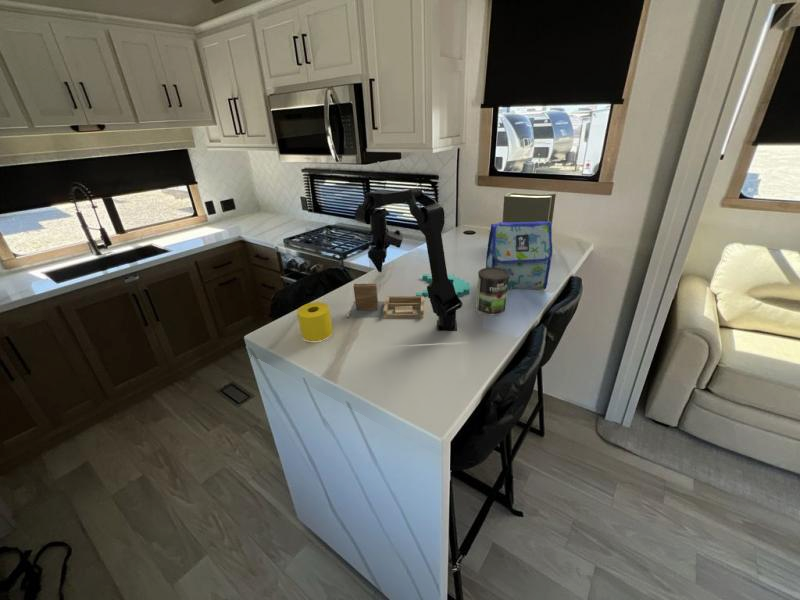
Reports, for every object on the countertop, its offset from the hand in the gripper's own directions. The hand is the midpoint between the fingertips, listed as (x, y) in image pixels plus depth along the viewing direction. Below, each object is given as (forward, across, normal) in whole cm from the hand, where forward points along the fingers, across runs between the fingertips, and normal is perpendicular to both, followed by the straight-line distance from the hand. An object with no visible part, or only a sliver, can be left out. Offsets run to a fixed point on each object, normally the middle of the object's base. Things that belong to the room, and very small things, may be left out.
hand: (381, 267), depth 134 cm
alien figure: (+13, +6, -24) cm, 28 cm away
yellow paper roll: (+13, -27, +19) cm, 35 cm away
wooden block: (+12, -11, +5) cm, 17 cm away
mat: (+12, -11, +5) cm, 17 cm away
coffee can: (+13, -10, -40) cm, 43 cm away
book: (+13, +49, -64) cm, 82 cm away
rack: (+12, -10, -9) cm, 19 cm away
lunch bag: (+13, +9, -52) cm, 54 cm away
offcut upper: (+12, -13, -9) cm, 20 cm away
